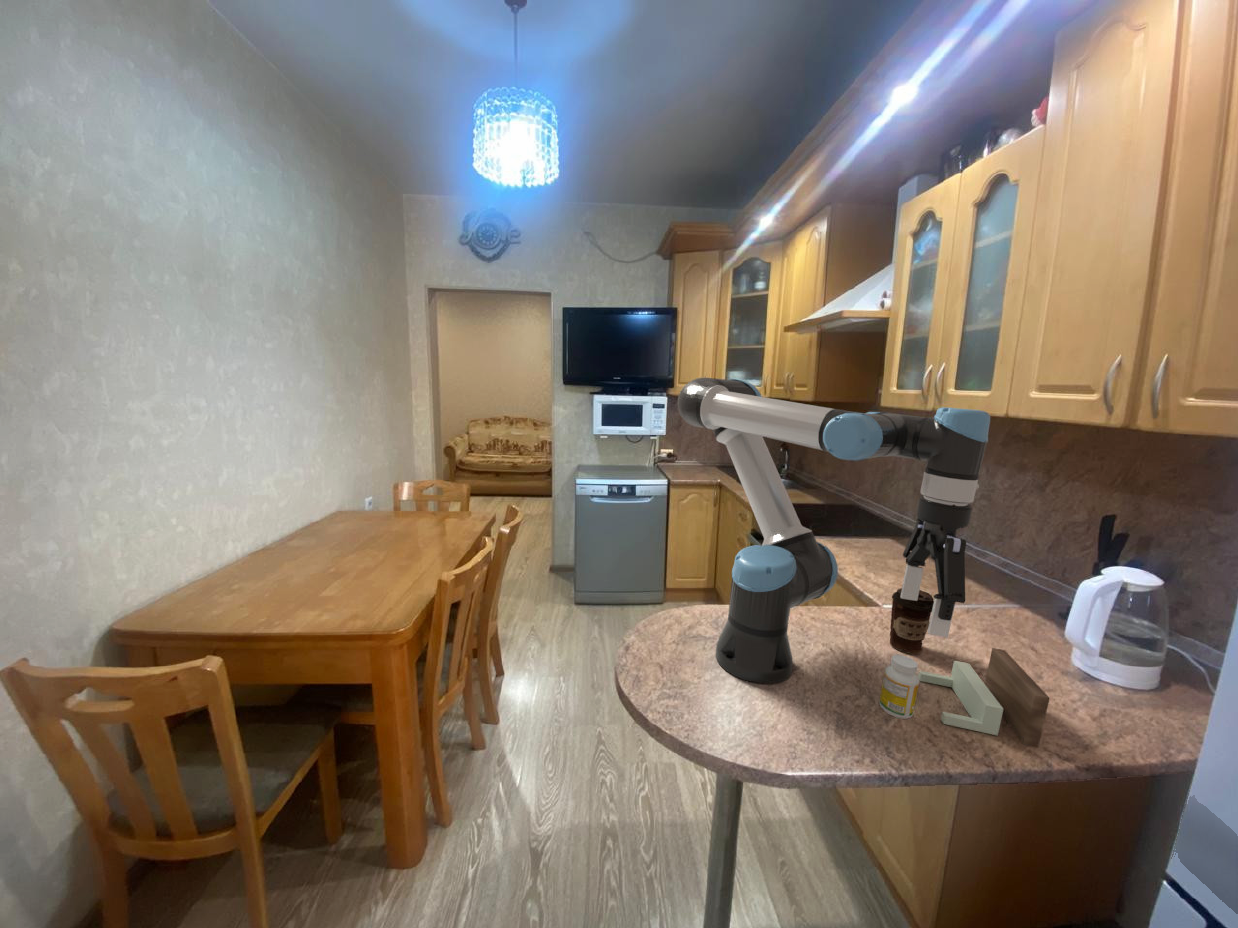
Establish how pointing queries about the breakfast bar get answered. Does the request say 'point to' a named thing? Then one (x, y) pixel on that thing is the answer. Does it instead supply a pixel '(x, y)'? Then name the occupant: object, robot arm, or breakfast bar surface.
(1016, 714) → the backstop wall
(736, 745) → the breakfast bar surface
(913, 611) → the coffee cup
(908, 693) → the supplement bottle
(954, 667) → the slot block
